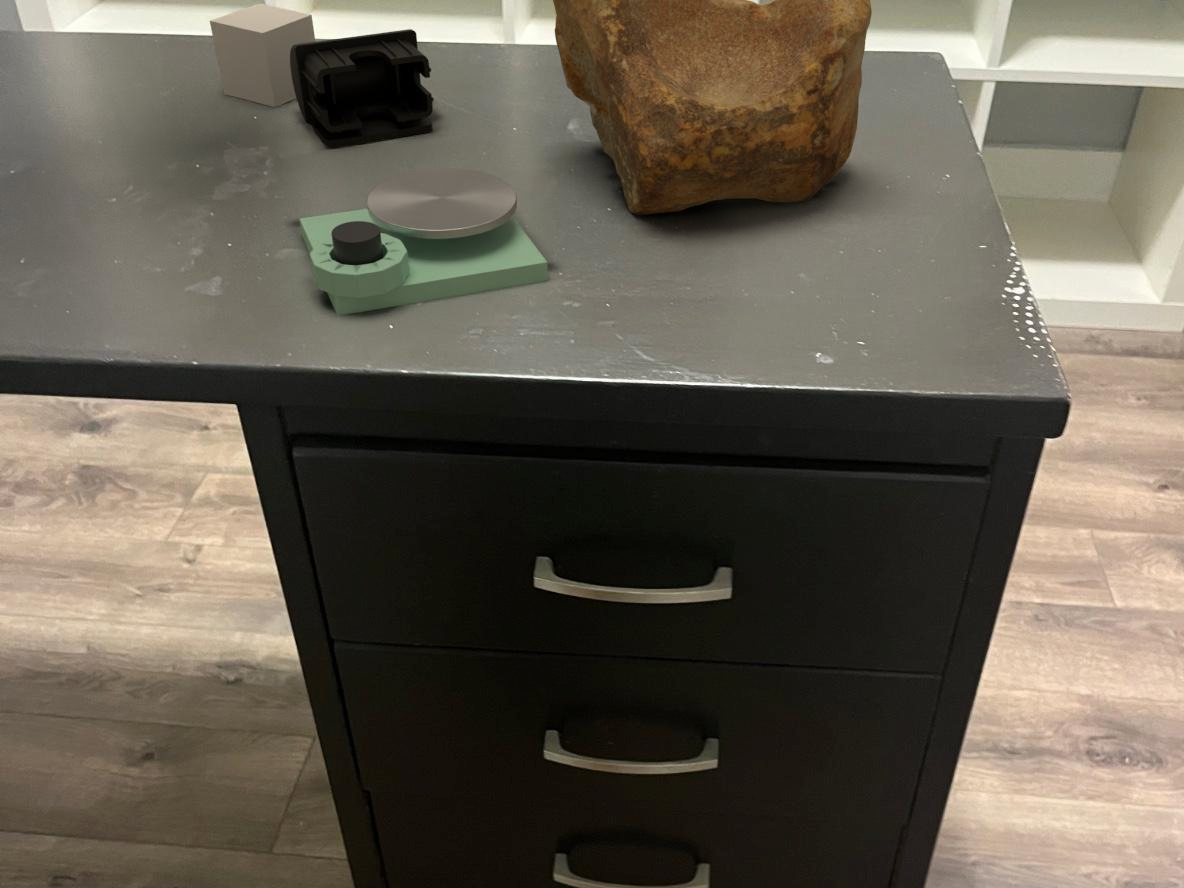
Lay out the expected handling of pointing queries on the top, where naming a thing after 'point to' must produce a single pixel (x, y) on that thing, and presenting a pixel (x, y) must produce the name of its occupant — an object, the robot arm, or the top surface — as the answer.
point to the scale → (420, 264)
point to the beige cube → (259, 51)
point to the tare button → (357, 243)
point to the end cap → (362, 87)
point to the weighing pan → (442, 203)
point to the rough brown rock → (717, 93)
